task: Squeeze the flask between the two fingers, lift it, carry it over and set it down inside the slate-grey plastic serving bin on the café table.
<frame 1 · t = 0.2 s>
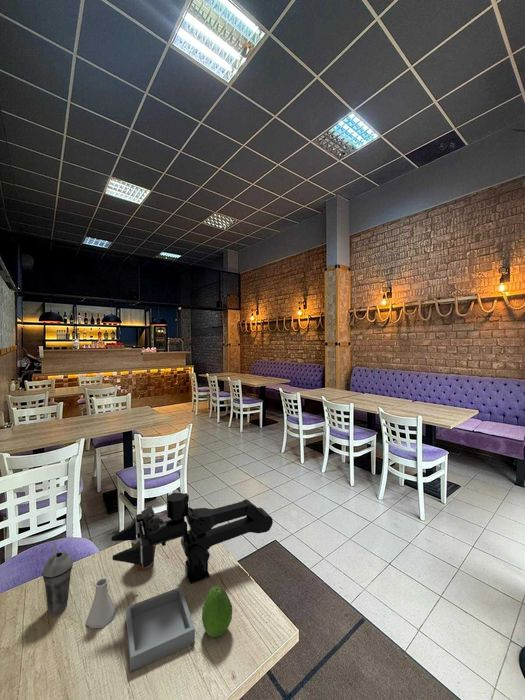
hand: (111, 548, 86), 17 cm above the table, tool horizontal, fingers open, 9 cm apart
beverage cup: (57, 609, 85), on the table
avocado: (217, 632, 78), on the table
disposable coffee cup: (144, 564, 102), on the table
flask: (101, 618, 82), on the table
serving bin: (159, 630, 79), on the table
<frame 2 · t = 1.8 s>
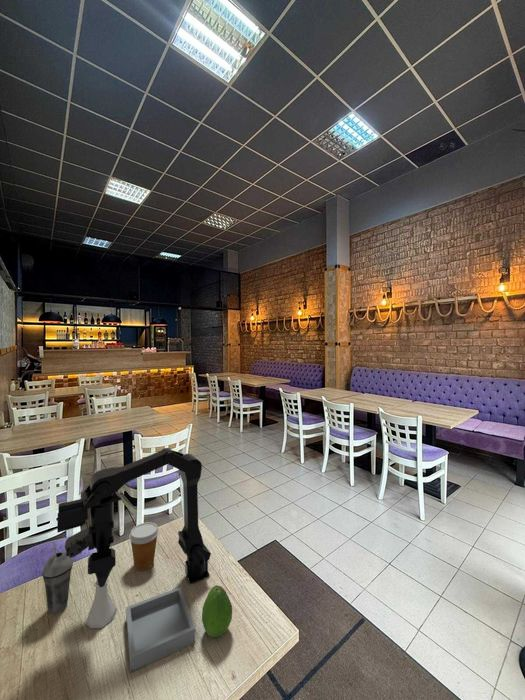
hand: (101, 574, 82), 12 cm above the table, tool pointing down, fingers open, 9 cm apart
nothing on the table moved.
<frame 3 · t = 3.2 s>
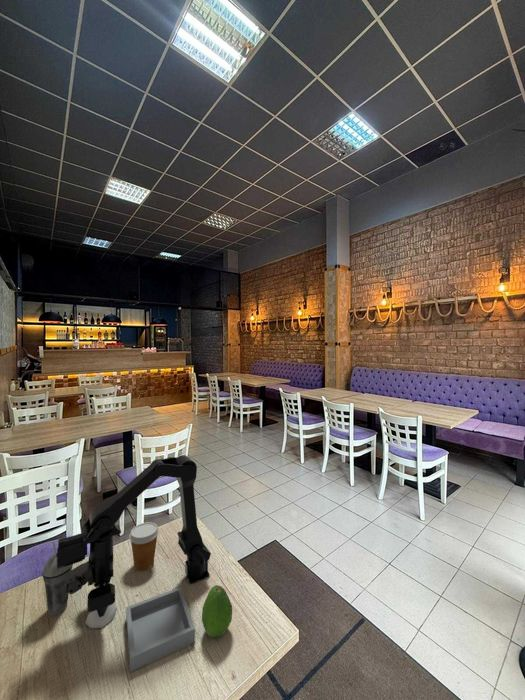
hand: (101, 608, 82), 3 cm above the table, tool pointing down, fingers closed on flask, 5 cm apart
flask: (101, 618, 82), on the table, touching gripper
everything else where it was.
when the fingers open (5 cm above the table, at t = 7.7 s): flask drops 1 cm, resting on serving bin.
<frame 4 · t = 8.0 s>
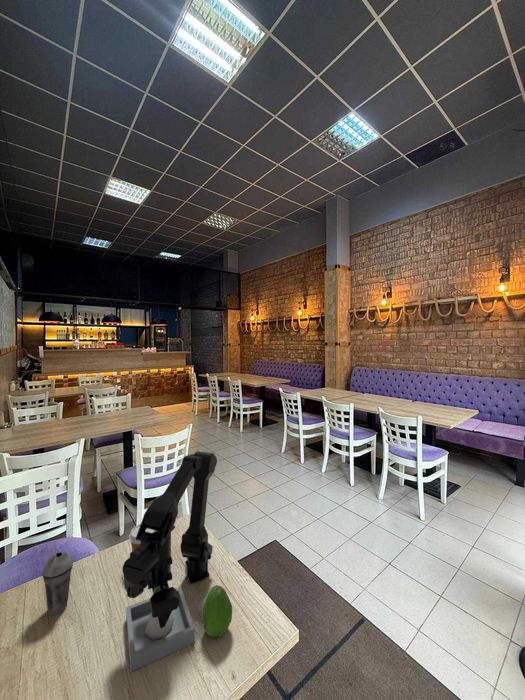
hand: (159, 612, 79), 5 cm above the table, tool pointing down, fingers open, 9 cm apart
flask: (159, 628, 79), point 1 cm above the table, touching serving bin
everything else where it was.
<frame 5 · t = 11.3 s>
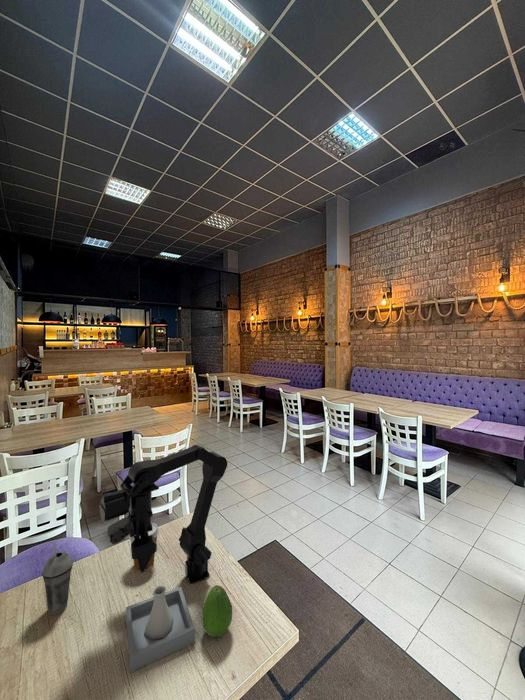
hand: (140, 561, 86), 13 cm above the table, tool pointing down, fingers open, 9 cm apart
nothing on the table moved.
at the end: flask inside the target area on the serving bin (0.1 cm from its centre), point 0.6 cm above the serving bin's base; flask tilted 0°; the gripper is holding nothing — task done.
